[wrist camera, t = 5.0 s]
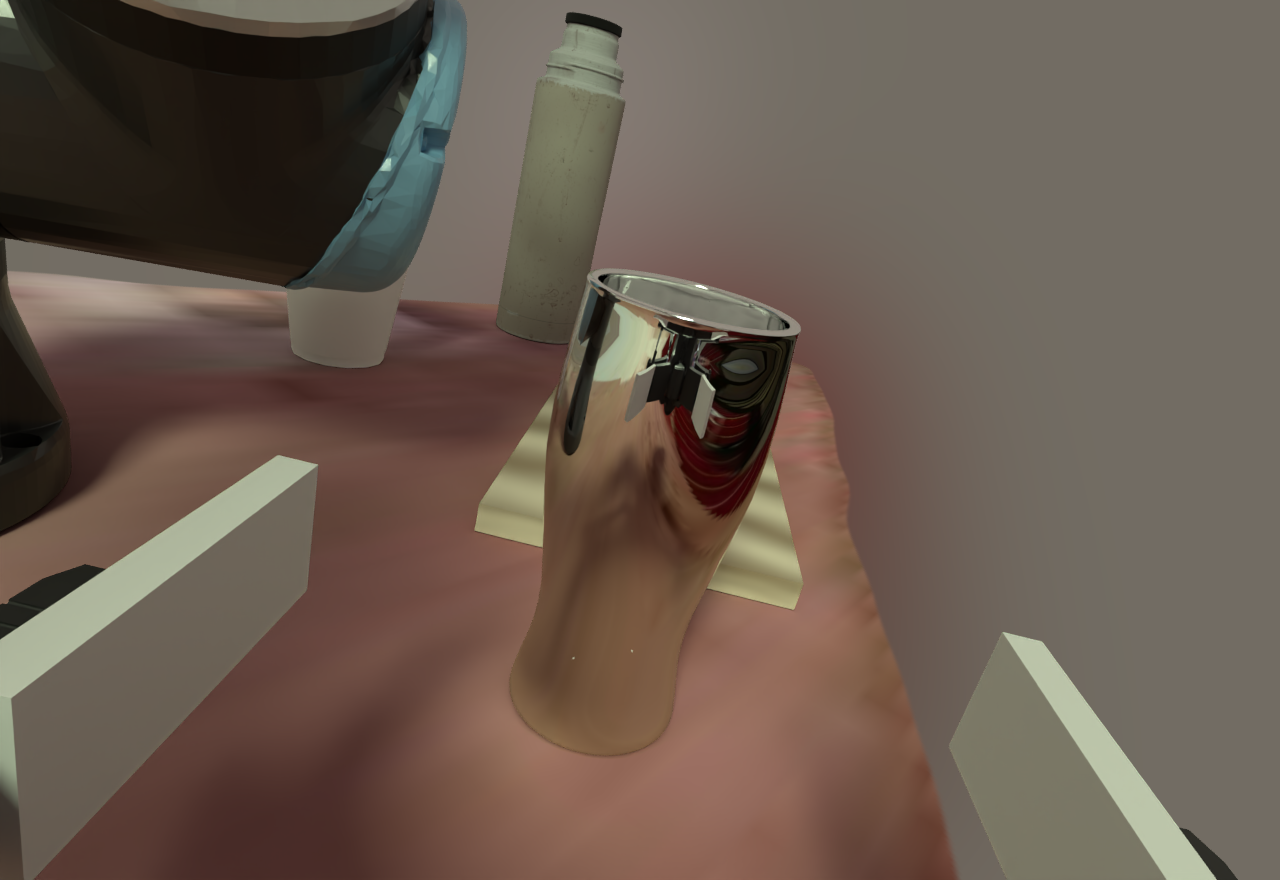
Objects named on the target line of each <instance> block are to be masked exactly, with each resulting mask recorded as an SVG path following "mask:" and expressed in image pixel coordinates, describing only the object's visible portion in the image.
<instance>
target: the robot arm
mask: <svg viewBox="0 0 1280 880" xmlns="http://www.w3.org/2000/svg"><path fill="white" fill-rule="evenodd" d="M466 46H467V21H466V16H465V12H464V10H463V8H462V6H461V4H460V3H459V2H458V1H457V0H0V531H2V530H4V529H6V528H8V527H10V526H12V525H14V524H16V523H18V522H20V521H22V520H23V519H25V518H27V517H29V516H30V515H32V514H33V513H35V512H37V511H38V510H40V509H41V508H42V507H44V506H45V505H46V504H48V503H49V502H50V501H51V500H52V499H53V498H54V497H56V495H57V494H58V493H59V492H60V491H61V490H62V489H63V487H64V486H65V484H66V483H67V481H68V479H69V476H70V473H71V448H70V427H69V422H68V418H67V414H66V411H65V409H64V407H63V405H62V403H61V401H60V398H59V396H58V394H57V392H56V390H55V388H54V386H53V384H52V382H51V380H50V378H49V375H48V373H47V371H46V369H45V367H44V365H43V363H42V361H41V359H40V357H39V354H38V352H37V350H36V348H35V346H34V344H33V342H32V340H31V338H30V336H29V334H28V331H27V329H26V327H25V325H24V323H23V321H22V319H21V317H20V315H19V313H18V310H17V308H16V306H15V304H14V302H13V300H12V298H11V294H10V290H9V286H8V276H7V265H6V249H5V238H7V239H14V240H21V241H25V242H32V243H38V244H44V245H49V246H55V247H61V248H67V249H73V250H78V251H84V252H90V253H95V254H101V255H107V256H113V257H118V258H124V259H130V260H136V261H141V262H147V263H153V264H158V265H165V266H170V267H176V268H181V269H187V270H193V271H199V272H204V273H210V274H216V275H222V276H227V277H233V278H239V279H245V280H251V281H256V282H262V283H268V284H273V285H280V286H282V287H285V288H287V289H292V290H299V289H304V288H307V287H312V288H322V289H332V290H342V291H352V292H375V291H379V290H382V289H385V288H387V287H389V286H390V285H392V284H393V283H394V282H396V281H397V280H398V279H399V278H400V277H401V276H402V275H403V274H404V273H405V271H406V270H407V268H408V267H409V265H410V264H411V262H412V260H413V258H414V255H415V254H416V252H417V249H418V247H419V245H420V242H421V240H422V237H423V234H424V232H425V229H426V226H427V223H428V220H429V217H430V214H431V211H432V208H433V205H434V201H435V198H436V195H437V192H438V188H439V184H440V180H441V175H442V172H443V168H444V163H445V146H446V145H447V143H448V141H449V138H450V132H451V129H452V126H453V123H454V120H455V117H456V113H457V108H458V103H459V97H460V92H461V86H462V79H463V73H464V66H465V57H466ZM317 474H318V465H317V464H313V463H309V462H305V461H301V460H297V459H293V458H288V457H284V456H280V455H277V456H276V457H274V458H273V459H271V460H270V461H268V462H267V463H265V464H264V465H262V466H261V467H259V468H258V469H256V470H255V471H253V472H252V473H250V474H249V475H247V476H246V477H244V478H243V479H241V480H240V481H238V482H237V483H235V484H234V485H232V486H231V487H229V488H228V489H226V490H225V491H223V492H222V493H220V494H219V495H217V496H216V497H214V498H213V499H211V500H210V501H208V502H207V503H205V504H204V505H202V506H201V507H199V508H198V509H196V510H195V511H193V512H192V513H190V514H189V515H187V516H186V517H184V518H183V519H181V520H180V521H178V522H177V523H175V524H174V525H172V526H170V527H169V528H167V529H166V530H164V531H163V532H161V533H160V534H158V535H157V536H155V537H154V538H152V539H151V540H149V541H148V542H146V543H145V544H143V545H142V546H140V547H139V548H137V549H136V550H134V551H133V552H131V553H130V554H128V555H127V556H125V557H124V558H122V559H121V560H119V561H118V562H116V563H115V564H113V565H112V566H110V567H109V568H107V569H103V568H98V567H94V566H90V565H86V564H85V565H82V566H79V567H76V568H73V569H70V570H67V571H64V572H61V573H58V574H55V575H52V576H49V577H46V578H43V579H41V580H40V581H38V582H37V583H35V584H33V585H32V586H30V587H28V588H27V589H25V590H23V591H22V592H20V593H19V594H17V595H15V596H14V597H12V598H10V599H9V602H8V603H7V604H3V603H2V604H1V605H0V880H34V879H35V877H36V876H37V875H38V874H39V873H40V872H41V871H42V870H43V869H44V868H45V867H46V866H47V865H48V864H49V863H50V862H51V861H52V859H53V858H54V857H55V856H56V855H57V854H58V853H59V852H60V851H61V850H62V849H63V848H64V847H65V846H66V845H67V844H68V843H69V842H70V840H71V839H72V838H73V837H74V836H75V835H76V834H77V833H78V832H79V831H80V830H81V829H82V828H83V827H84V826H85V825H86V824H87V822H88V821H89V820H90V819H91V818H92V817H93V816H94V815H95V814H96V813H97V812H98V811H99V810H100V809H101V808H102V807H103V806H104V805H105V803H106V802H107V801H108V800H109V799H110V798H111V797H112V796H113V795H114V794H115V793H116V792H117V791H118V790H119V789H120V788H121V787H122V785H123V784H124V783H125V782H126V781H127V780H128V779H129V778H130V777H131V776H132V775H133V774H134V773H135V772H136V771H137V770H138V769H139V767H140V766H141V765H142V764H143V763H144V762H145V761H146V760H147V759H148V758H149V757H150V756H151V755H152V754H153V753H154V752H155V751H156V750H157V748H158V747H159V746H160V745H161V744H162V743H163V742H164V741H165V740H166V739H167V738H168V737H169V736H170V735H171V734H172V733H173V732H174V730H175V729H176V728H177V727H178V726H179V725H180V724H181V723H182V722H183V721H184V720H185V719H186V718H187V717H188V716H189V715H190V714H191V712H192V711H193V710H194V709H195V708H196V707H197V706H198V705H199V704H200V703H201V702H202V701H203V700H204V699H205V698H206V697H207V696H208V695H209V693H210V692H211V691H212V690H213V689H214V688H215V687H216V686H217V685H218V684H219V683H220V682H221V681H222V680H223V679H224V678H225V677H226V675H227V674H228V673H229V672H230V671H231V670H232V669H233V668H234V667H235V666H236V665H237V664H238V663H239V662H240V661H241V660H242V659H243V657H244V656H245V655H246V654H247V653H248V652H249V651H250V650H251V649H252V648H253V647H254V646H255V645H256V644H257V643H258V642H259V641H260V640H261V638H262V637H263V636H264V635H265V634H266V633H267V632H268V631H269V630H270V629H271V628H272V627H273V626H274V625H275V624H276V623H277V622H278V620H279V619H280V618H281V617H282V616H283V615H284V614H285V613H286V612H287V611H288V610H289V609H290V608H291V607H292V606H293V605H294V604H295V602H296V601H297V600H298V599H299V598H300V597H301V596H302V595H303V594H304V593H305V592H306V591H307V584H308V573H309V562H310V551H311V540H312V529H313V518H314V507H315V496H316V485H317ZM949 748H950V751H951V753H952V755H953V758H954V760H955V762H956V765H957V767H958V769H959V771H960V774H961V776H962V778H963V781H964V783H965V785H966V788H967V790H968V792H969V794H970V797H971V799H972V801H973V804H974V806H975V808H976V810H977V813H978V815H979V817H980V820H981V822H982V824H983V826H984V829H985V831H986V833H987V836H988V838H989V840H990V843H991V845H992V847H993V849H994V852H995V854H996V856H997V859H998V861H999V863H1000V865H1001V867H1002V870H1003V872H1004V875H1005V877H1006V879H1007V880H1238V879H1237V878H1236V877H1235V876H1234V874H1233V873H1232V872H1231V870H1230V869H1229V868H1228V866H1227V865H1226V864H1225V863H1224V862H1223V861H1222V860H1221V859H1220V858H1219V857H1218V856H1217V855H1216V854H1215V853H1213V852H1212V851H1211V850H1210V849H1209V848H1208V847H1207V846H1206V845H1205V844H1204V843H1202V842H1201V841H1200V840H1199V839H1198V838H1197V837H1196V836H1195V835H1194V834H1193V833H1191V831H1189V830H1187V829H1183V828H1179V827H1178V826H1177V825H1176V823H1175V822H1174V821H1173V820H1172V818H1171V817H1170V816H1169V814H1168V813H1167V811H1166V810H1165V808H1164V807H1163V806H1162V804H1161V803H1160V802H1159V800H1158V799H1157V798H1156V797H1155V795H1154V793H1153V792H1152V791H1151V789H1150V788H1149V787H1148V785H1147V784H1146V783H1145V781H1144V780H1143V779H1142V777H1141V776H1140V774H1139V773H1138V772H1137V770H1136V769H1135V768H1134V766H1133V765H1132V764H1131V762H1130V761H1129V759H1128V758H1127V757H1126V755H1125V754H1124V753H1123V751H1122V750H1121V748H1120V747H1119V746H1118V744H1117V743H1116V742H1115V740H1114V739H1113V738H1112V736H1111V735H1110V734H1109V732H1108V731H1107V729H1106V728H1105V727H1104V725H1103V724H1102V723H1101V721H1100V720H1099V719H1098V717H1097V716H1096V714H1095V713H1094V712H1093V710H1092V709H1091V708H1090V706H1089V705H1088V704H1087V702H1086V701H1085V699H1084V698H1083V697H1082V695H1081V694H1080V693H1079V691H1078V690H1077V689H1076V687H1075V686H1074V685H1073V683H1072V682H1071V681H1070V679H1069V678H1068V676H1067V675H1066V674H1065V672H1064V671H1063V669H1062V668H1061V667H1060V665H1059V664H1058V663H1057V661H1056V660H1055V659H1054V657H1053V656H1052V655H1051V653H1050V652H1049V651H1048V649H1047V648H1046V646H1045V645H1044V644H1043V642H1041V641H1037V640H1032V639H1029V638H1025V637H1020V636H1017V635H1013V634H1009V633H1005V632H1003V633H1002V634H1001V636H1000V638H999V640H998V642H997V645H996V647H995V649H994V651H993V653H992V655H991V657H990V660H989V662H988V664H987V666H986V668H985V670H984V672H983V674H982V677H981V679H980V681H979V683H978V685H977V687H976V689H975V691H974V693H973V696H972V698H971V700H970V702H969V704H968V706H967V708H966V710H965V712H964V715H963V717H962V719H961V721H960V723H959V725H958V727H957V730H956V732H955V734H954V736H953V738H952V740H951V742H950V744H949Z"/></svg>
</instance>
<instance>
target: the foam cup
mask: <svg viewBox="0 0 1280 880" xmlns="http://www.w3.org/2000/svg"><path fill="white" fill-rule="evenodd" d="M407 270H408V268H407ZM407 270H406V271H405V273H404V274H403V275H402V276H401V277H400V278H399V279H398V280H397V281H396V282H394V283H393V284H392V285H390V286H389V287H387V288H385V289H382V290H379V291H375V292H352V291H342V290H332V289H322V288H312V287H307V288H304V289H299V290H292V289H287V288H286V290H287V303H288V316H289V330H290V339H291V348H292V351H293V353H294V354H295V355H297V356H299V357H301V358H303V359H305V360H307V361H311V362H314V363H318V364H322V365H325V366H334V367H342V368H367V367H371V366H375V365H379V364H380V363H381V362H382V360H383V359H384V353H385V352H386V349H387V346H388V342H389V338H390V334H391V330H392V327H393V323H394V319H395V315H396V311H397V308H398V304H399V300H400V296H401V292H402V289H403V285H404V281H405V277H406V273H407Z"/></svg>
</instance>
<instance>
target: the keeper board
mask: <svg viewBox="0 0 1280 880" xmlns="http://www.w3.org/2000/svg"><path fill="white" fill-rule="evenodd" d="M557 387H558V385H557V386H556V388H555V389H554V391H553V392H552V394H551V395H550V397H549V398H548V400H547V402H546V403H545V405H544V406H543V408H542V409H541V411H540V412H539V414H538V415H537V417H536V418H535V420H534V421H533V423H532V424H531V426H530V427H529V429H528V430H527V432H526V433H525V435H524V436H523V438H522V439H521V441H520V443H519V444H518V446H517V447H516V449H515V450H514V452H513V453H512V455H511V456H510V458H509V459H508V461H507V462H506V464H505V465H504V467H503V468H502V470H501V471H500V473H499V474H498V476H497V477H496V479H495V480H494V482H493V484H492V485H491V487H490V488H489V490H488V491H487V493H486V494H485V496H484V497H483V499H482V500H481V502H480V503H479V508H478V514H477V520H476V525H475V531H478V532H482V533H486V534H490V535H494V536H498V537H502V538H506V539H510V540H514V541H518V542H522V543H526V544H530V545H534V546H538V547H542V548H543V500H544V475H545V462H546V449H547V439H548V433H549V427H550V421H551V415H552V410H553V404H554V399H555V395H556V391H557ZM802 586H803V581H802V576H801V572H800V568H799V564H798V560H797V556H796V552H795V548H794V543H793V539H792V535H791V531H790V527H789V523H788V519H787V515H786V510H785V506H784V502H783V498H782V494H781V490H780V486H779V482H778V477H777V473H776V469H775V465H774V461H773V457H772V453H771V449H770V451H769V455H768V458H767V461H766V464H765V467H764V469H763V472H762V475H761V478H760V480H759V483H758V486H757V489H756V492H755V494H754V497H753V499H752V501H751V503H750V505H749V507H748V510H747V512H746V514H745V516H744V518H743V520H742V522H741V525H740V527H739V529H738V531H737V533H736V535H735V537H734V539H733V541H732V542H731V544H730V546H729V548H728V550H727V552H726V554H725V556H724V557H723V559H722V561H721V563H720V565H719V567H718V569H717V570H716V572H715V574H714V576H713V578H712V579H711V581H710V583H709V585H708V587H707V588H708V589H712V590H716V591H720V592H724V593H728V594H732V595H736V596H740V597H744V598H748V599H752V600H756V601H760V602H764V603H768V604H772V605H776V606H780V607H784V608H788V609H792V610H794V608H795V606H796V603H797V600H798V597H799V595H800V592H801V589H802Z"/></svg>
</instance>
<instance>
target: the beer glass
mask: <svg viewBox="0 0 1280 880" xmlns="http://www.w3.org/2000/svg"><path fill="white" fill-rule="evenodd" d="M800 331H801V328H800V325H799V324H798V323H797V322H796V321H795V320H794V319H792V318H791V317H789V316H788V315H786V314H784V313H782V312H780V311H778V310H776V309H774V308H772V307H769V306H767V305H765V304H762V303H760V302H757V301H754V300H752V299H749V298H746V297H743V296H740V295H737V294H734V293H731V292H728V291H724V290H721V289H718V288H714V287H711V286H707V285H703V284H699V283H696V282H692V281H687V280H683V279H679V278H674V277H669V276H664V275H659V274H653V273H647V272H641V271H634V270H625V269H597V270H593V271H591V272H589V273H588V275H587V283H586V287H585V291H584V294H583V298H582V301H581V305H580V308H579V311H578V314H577V318H576V321H575V324H574V327H573V330H572V334H571V337H570V341H569V344H568V348H567V351H566V355H565V358H564V362H563V366H562V370H561V374H560V378H559V382H558V387H557V391H556V395H555V399H554V404H553V410H552V415H551V421H550V427H549V433H548V439H547V449H546V462H545V475H544V500H543V555H542V577H541V585H540V592H539V599H538V603H537V606H536V610H535V614H534V617H533V620H532V622H531V625H530V628H529V630H528V632H527V634H526V637H525V639H524V641H523V643H522V645H521V647H520V650H519V652H518V654H517V656H516V659H515V661H514V664H513V667H512V670H511V674H510V679H509V688H510V695H511V699H512V702H513V704H514V706H515V708H516V710H517V712H518V713H519V715H520V716H521V718H522V719H523V720H524V721H525V722H526V723H527V724H528V725H529V726H530V727H531V728H532V729H533V730H534V731H536V732H537V733H538V734H539V735H541V736H542V737H544V738H545V739H547V740H549V741H551V742H553V743H554V744H557V745H559V746H561V747H563V748H566V749H569V750H572V751H575V752H579V753H584V754H590V755H599V756H613V755H622V754H627V753H631V752H634V751H637V750H640V749H642V748H644V747H646V746H648V745H650V744H652V743H653V742H654V741H656V740H657V739H658V738H659V737H660V736H661V735H662V733H663V732H664V731H665V729H666V728H667V726H668V724H669V722H670V719H671V715H672V712H673V706H674V697H675V686H676V674H677V665H678V659H679V653H680V649H681V645H682V641H683V638H684V635H685V633H686V630H687V627H688V625H689V622H690V619H691V617H692V616H693V614H694V612H695V610H696V608H697V606H698V604H699V602H700V600H701V598H702V596H703V594H704V592H705V590H706V589H707V587H708V585H709V583H710V581H711V579H712V578H713V576H714V574H715V572H716V570H717V569H718V567H719V565H720V563H721V561H722V559H723V557H724V556H725V554H726V552H727V550H728V548H729V546H730V544H731V542H732V541H733V539H734V537H735V535H736V533H737V531H738V529H739V527H740V525H741V522H742V520H743V518H744V516H745V514H746V512H747V510H748V507H749V505H750V503H751V501H752V499H753V497H754V494H755V492H756V489H757V486H758V483H759V480H760V478H761V475H762V472H763V469H764V467H765V464H766V461H767V458H768V455H769V451H770V448H771V444H772V441H773V437H774V434H775V430H776V427H777V423H778V420H779V415H780V411H781V407H782V403H783V399H784V395H785V390H786V386H787V381H788V377H789V372H790V368H791V363H792V358H793V354H794V350H795V346H796V342H797V339H798V336H799V333H800Z"/></svg>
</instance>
